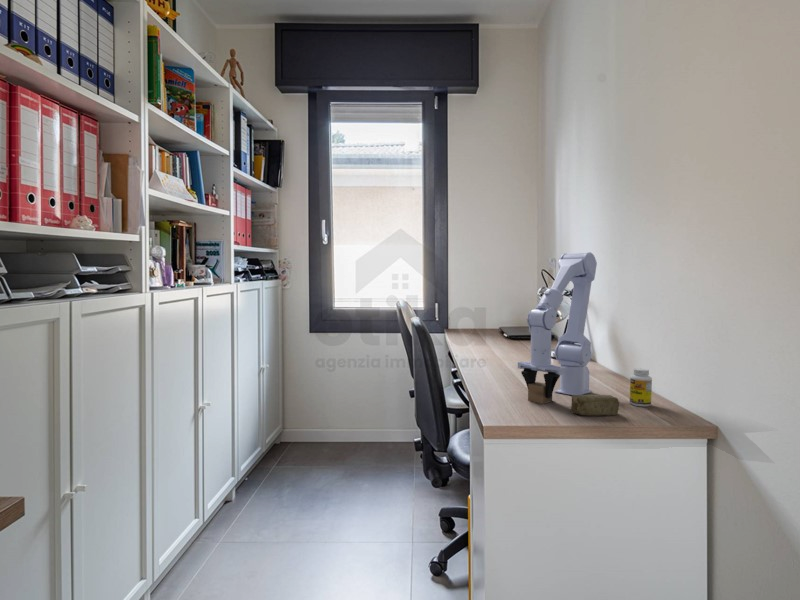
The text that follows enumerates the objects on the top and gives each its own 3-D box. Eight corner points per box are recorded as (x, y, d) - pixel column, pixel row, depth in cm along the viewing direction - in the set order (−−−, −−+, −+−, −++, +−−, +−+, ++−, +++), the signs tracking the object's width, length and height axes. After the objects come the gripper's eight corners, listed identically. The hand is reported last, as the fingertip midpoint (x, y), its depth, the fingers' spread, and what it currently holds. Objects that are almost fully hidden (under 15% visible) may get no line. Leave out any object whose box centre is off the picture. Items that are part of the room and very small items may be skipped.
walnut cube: (537, 398, 153) (537, 381, 153) (552, 401, 150) (552, 384, 150) (527, 400, 150) (528, 384, 150) (543, 403, 146) (543, 386, 146)
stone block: (620, 417, 133) (620, 398, 133) (576, 417, 132) (577, 398, 132) (610, 411, 139) (610, 393, 138) (568, 411, 138) (568, 393, 138)
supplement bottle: (625, 403, 147) (626, 368, 146) (639, 401, 149) (639, 367, 149) (641, 408, 142) (642, 371, 141) (655, 406, 144) (656, 370, 144)
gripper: (512, 348, 152) (511, 393, 152) (556, 353, 141) (555, 402, 142) (525, 346, 157) (524, 390, 157) (568, 351, 146) (568, 398, 147)
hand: (540, 395), depth 150 cm, fingers open, 5 cm apart
